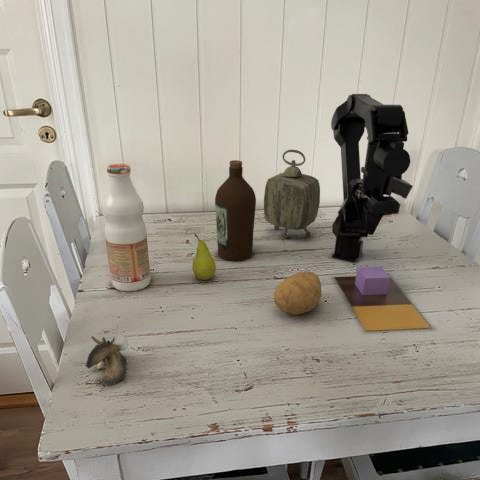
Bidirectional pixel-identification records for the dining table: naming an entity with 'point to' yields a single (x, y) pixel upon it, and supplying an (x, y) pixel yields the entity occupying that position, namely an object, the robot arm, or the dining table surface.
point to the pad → (390, 317)
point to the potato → (298, 293)
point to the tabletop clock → (292, 198)
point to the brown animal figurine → (109, 358)
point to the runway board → (358, 299)
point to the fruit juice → (125, 231)
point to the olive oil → (235, 215)
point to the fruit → (203, 262)
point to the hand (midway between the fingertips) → (367, 230)
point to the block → (372, 280)
